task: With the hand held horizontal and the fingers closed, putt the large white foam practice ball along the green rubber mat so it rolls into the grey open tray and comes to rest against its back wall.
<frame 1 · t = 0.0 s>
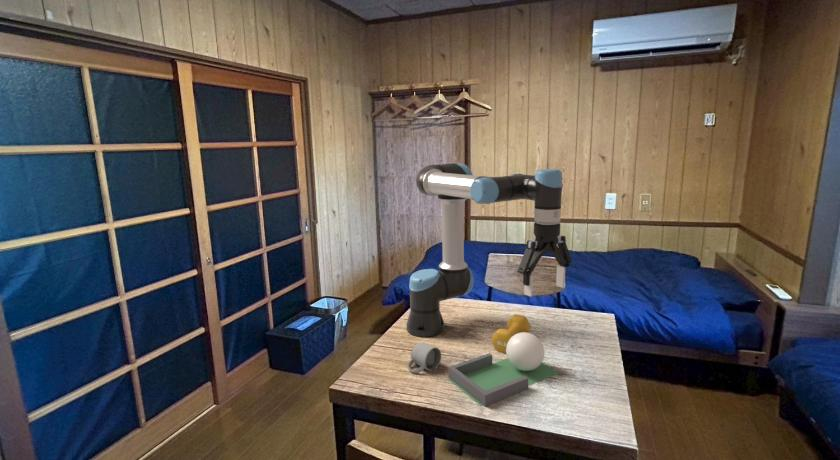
hand: (544, 290, 130), 28 cm above the table, tool pointing down, fingers open, 13 cm apart
ceramic mug: (423, 368, 142), on the table
grey open tray: (488, 382, 132), resting on green mat
dumbbell: (511, 344, 157), on the table
ball: (525, 351, 138), point 6 cm above the table, touching green mat
green mat: (504, 376, 135), on the table
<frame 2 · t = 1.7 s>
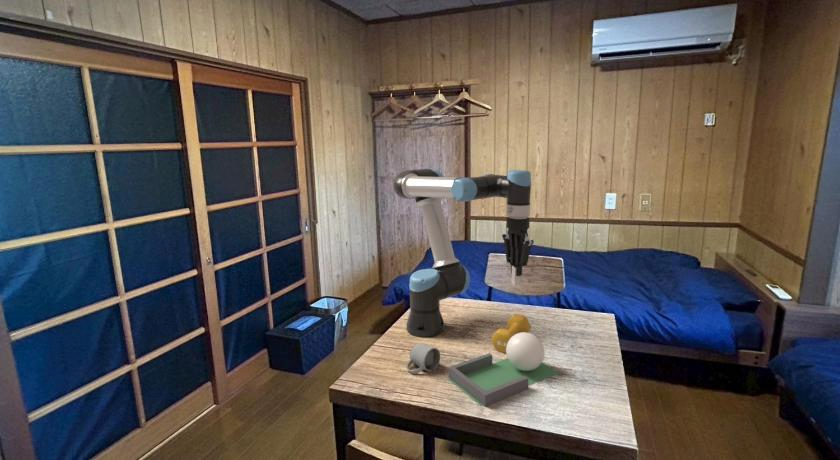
hand: (515, 283, 148), 24 cm above the table, tool pointing down, fingers closed
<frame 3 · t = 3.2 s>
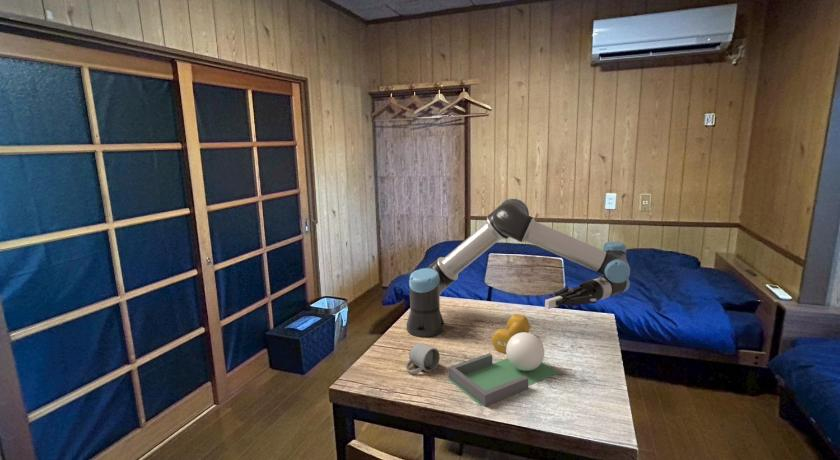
hand: (546, 304, 140), 20 cm above the table, tool horizontal, fingers closed
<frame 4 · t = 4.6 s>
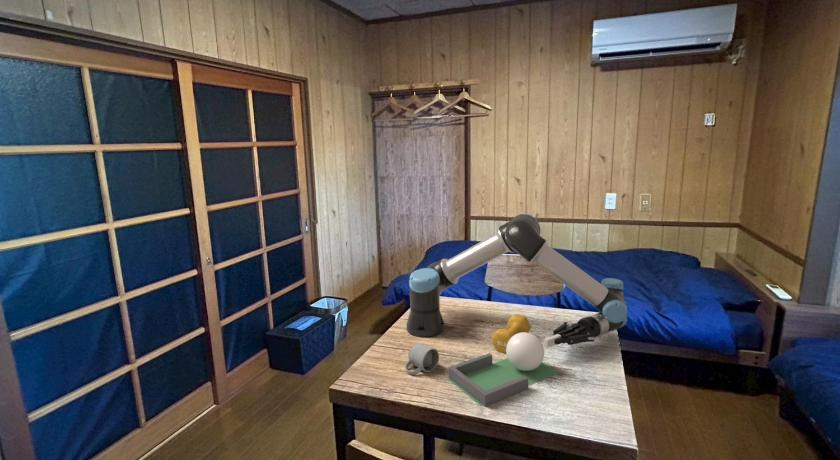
hand: (545, 343, 143), 7 cm above the table, tool horizontal, fingers closed
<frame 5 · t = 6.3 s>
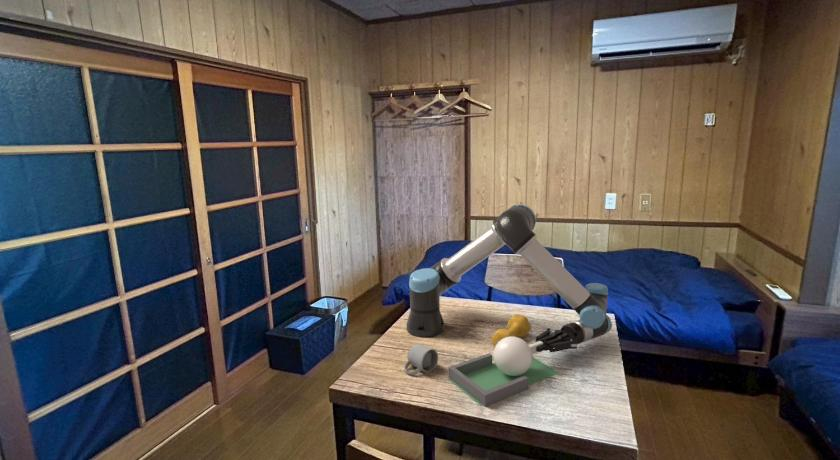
hand: (527, 350, 138), 6 cm above the table, tool horizontal, fingers closed
ball: (512, 356, 135), point 6 cm above the table, tilted 50°, touching green mat
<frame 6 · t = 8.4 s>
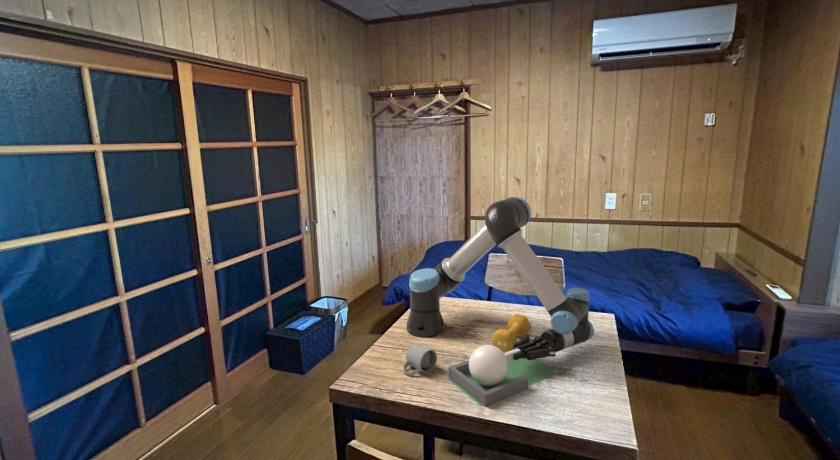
hand: (503, 358, 133), 7 cm above the table, tool horizontal, fingers closed
ball: (488, 365, 130), point 6 cm above the table, tilted 145°, touching green mat, gripper
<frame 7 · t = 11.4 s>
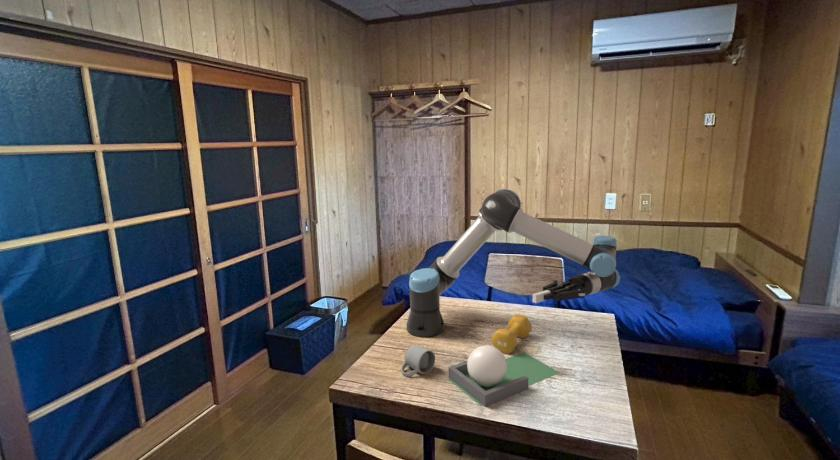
hand: (534, 298, 136), 24 cm above the table, tool horizontal, fingers closed
ball: (487, 365, 130), point 6 cm above the table, tilted 151°, touching green mat
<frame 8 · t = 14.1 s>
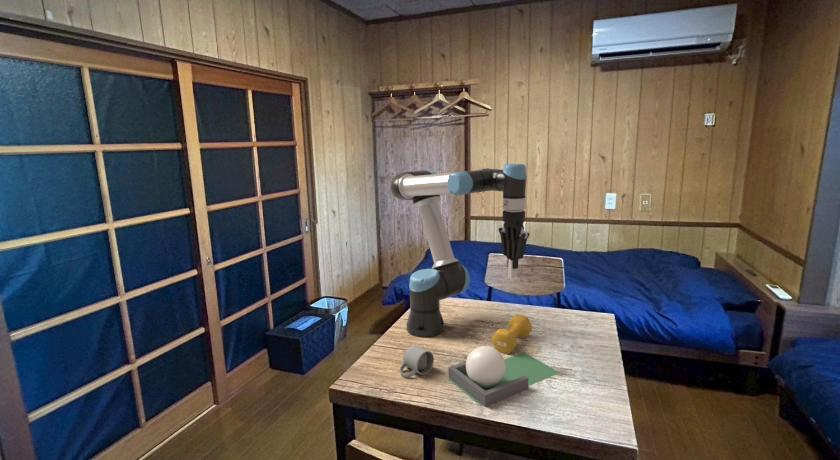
hand: (512, 276, 149), 26 cm above the table, tool pointing down, fingers closed
ball: (485, 366, 129), point 6 cm above the table, tilted 156°, touching green mat
at the end: ball 1.4 cm off-centre on the grey open tray, point 6.0 cm above the grey open tray's base; the gripper is holding nothing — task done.
